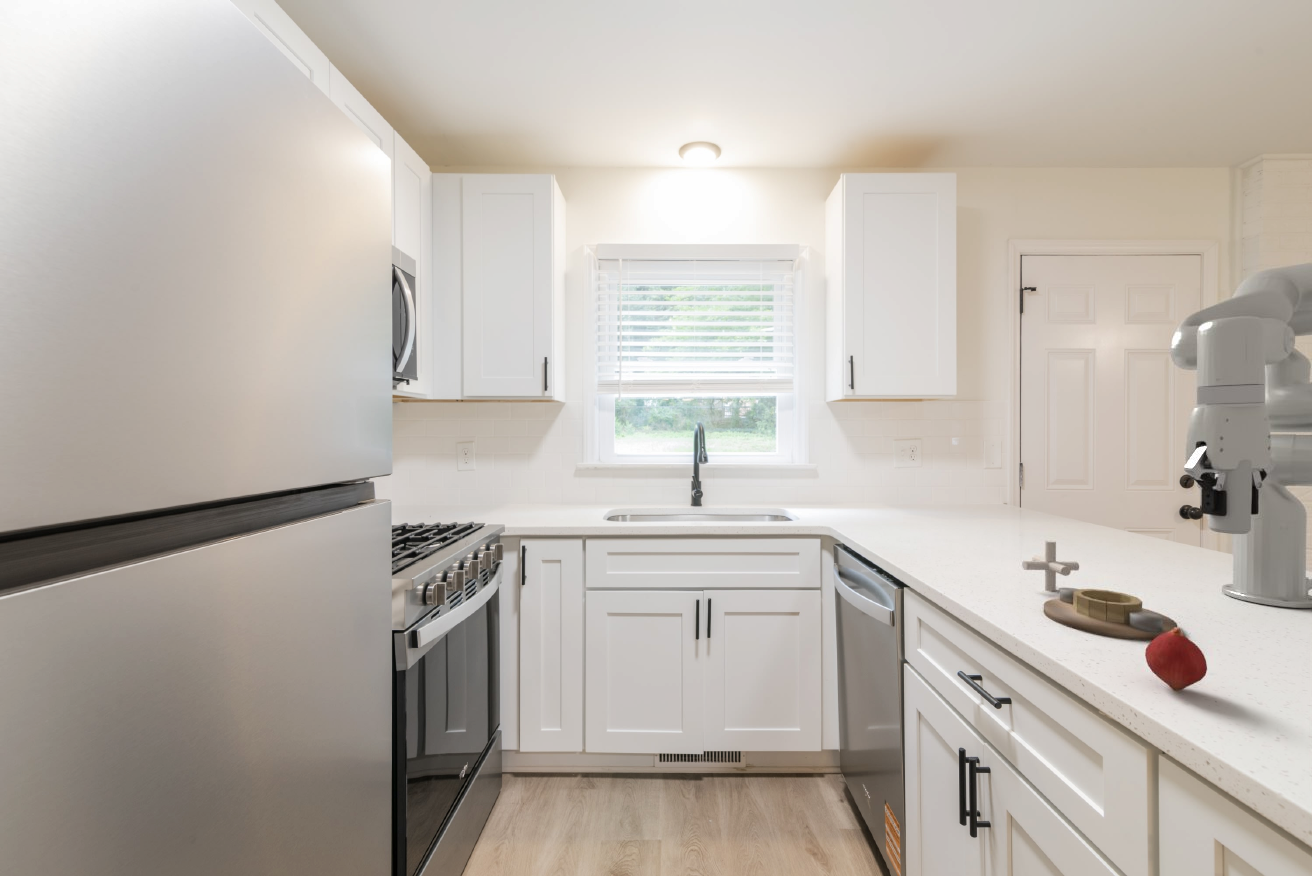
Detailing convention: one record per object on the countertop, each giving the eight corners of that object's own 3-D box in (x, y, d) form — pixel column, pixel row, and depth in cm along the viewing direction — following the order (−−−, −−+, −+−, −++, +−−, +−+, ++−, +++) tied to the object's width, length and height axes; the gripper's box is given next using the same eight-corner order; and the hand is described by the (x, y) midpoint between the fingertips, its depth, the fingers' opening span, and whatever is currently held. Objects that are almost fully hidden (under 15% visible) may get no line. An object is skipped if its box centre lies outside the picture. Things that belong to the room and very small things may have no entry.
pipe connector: (1061, 583, 121) (1061, 536, 120) (1092, 597, 111) (1092, 546, 111) (1011, 582, 122) (1011, 536, 121) (1038, 596, 112) (1038, 546, 112)
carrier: (1107, 602, 108) (1107, 580, 108) (1209, 637, 90) (1209, 611, 90) (1019, 606, 106) (1019, 584, 106) (1105, 642, 88) (1106, 616, 88)
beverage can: (1239, 529, 90) (1239, 454, 90) (1259, 535, 86) (1260, 456, 86) (1201, 528, 92) (1201, 454, 92) (1219, 534, 88) (1219, 456, 87)
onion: (1133, 680, 75) (1133, 620, 75) (1173, 678, 76) (1173, 618, 75) (1177, 701, 69) (1177, 636, 69) (1220, 698, 70) (1220, 634, 70)
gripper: (1250, 397, 93) (1249, 508, 94) (1157, 400, 91) (1157, 512, 92) (1307, 395, 85) (1306, 515, 86) (1207, 398, 84) (1206, 520, 84)
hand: (1229, 512), depth 89 cm, fingers closed on beverage can, 4 cm apart
